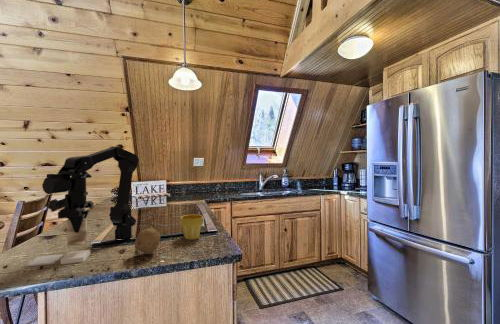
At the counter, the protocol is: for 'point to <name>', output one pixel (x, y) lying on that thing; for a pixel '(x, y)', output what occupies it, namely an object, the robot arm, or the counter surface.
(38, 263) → the rest mat
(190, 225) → the plant pot
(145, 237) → the natural sponge
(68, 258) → the tile
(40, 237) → the counter surface
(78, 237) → the tan upright block
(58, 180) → the robot arm
